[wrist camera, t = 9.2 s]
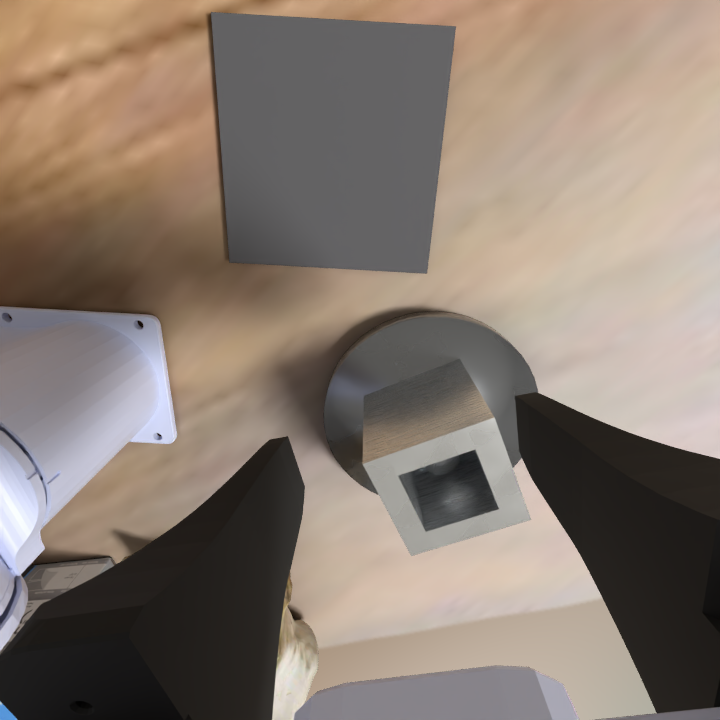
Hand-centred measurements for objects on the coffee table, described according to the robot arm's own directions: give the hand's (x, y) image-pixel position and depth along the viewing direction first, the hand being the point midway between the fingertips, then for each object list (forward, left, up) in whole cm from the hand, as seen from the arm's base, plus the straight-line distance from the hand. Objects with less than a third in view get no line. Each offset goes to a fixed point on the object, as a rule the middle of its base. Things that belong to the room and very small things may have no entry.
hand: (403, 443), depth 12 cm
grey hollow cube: (+3, -4, -9) cm, 10 cm away
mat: (-3, +9, -10) cm, 14 cm away
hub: (+3, -4, -10) cm, 11 cm away
